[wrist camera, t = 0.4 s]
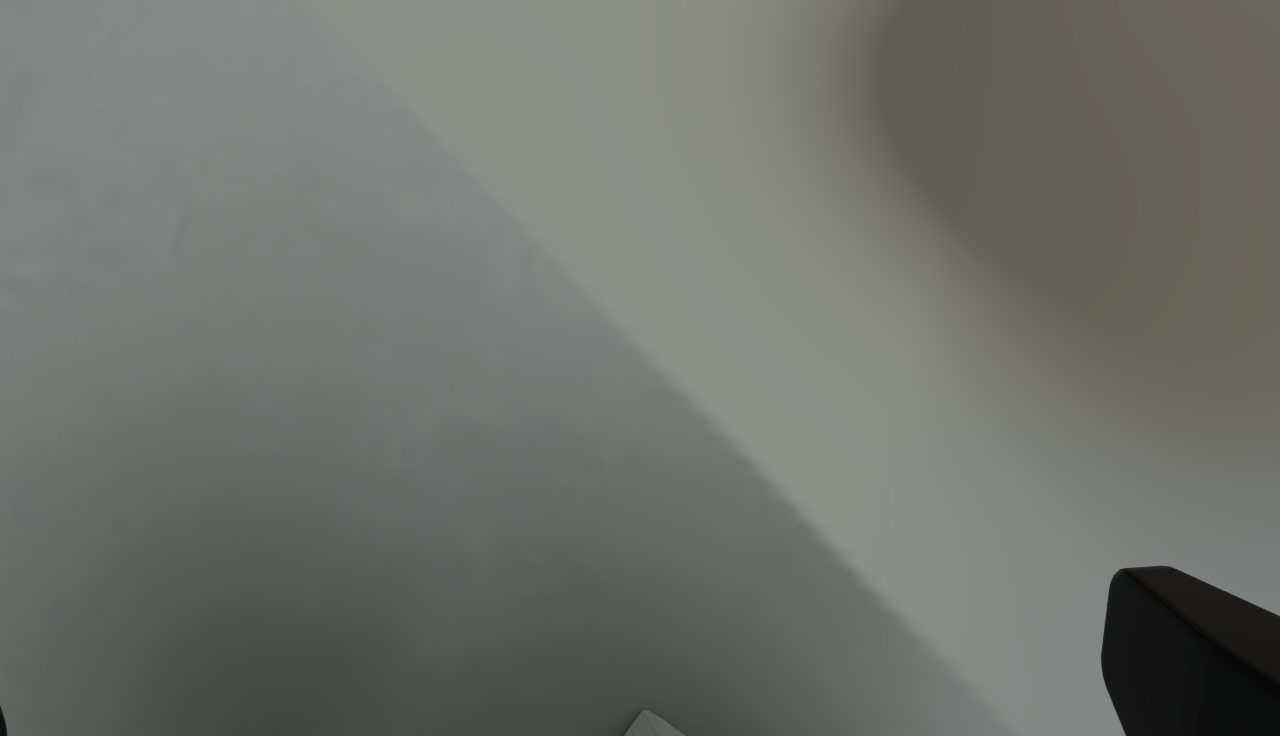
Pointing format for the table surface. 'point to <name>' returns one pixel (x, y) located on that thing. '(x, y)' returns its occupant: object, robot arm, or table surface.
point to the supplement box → (651, 726)
